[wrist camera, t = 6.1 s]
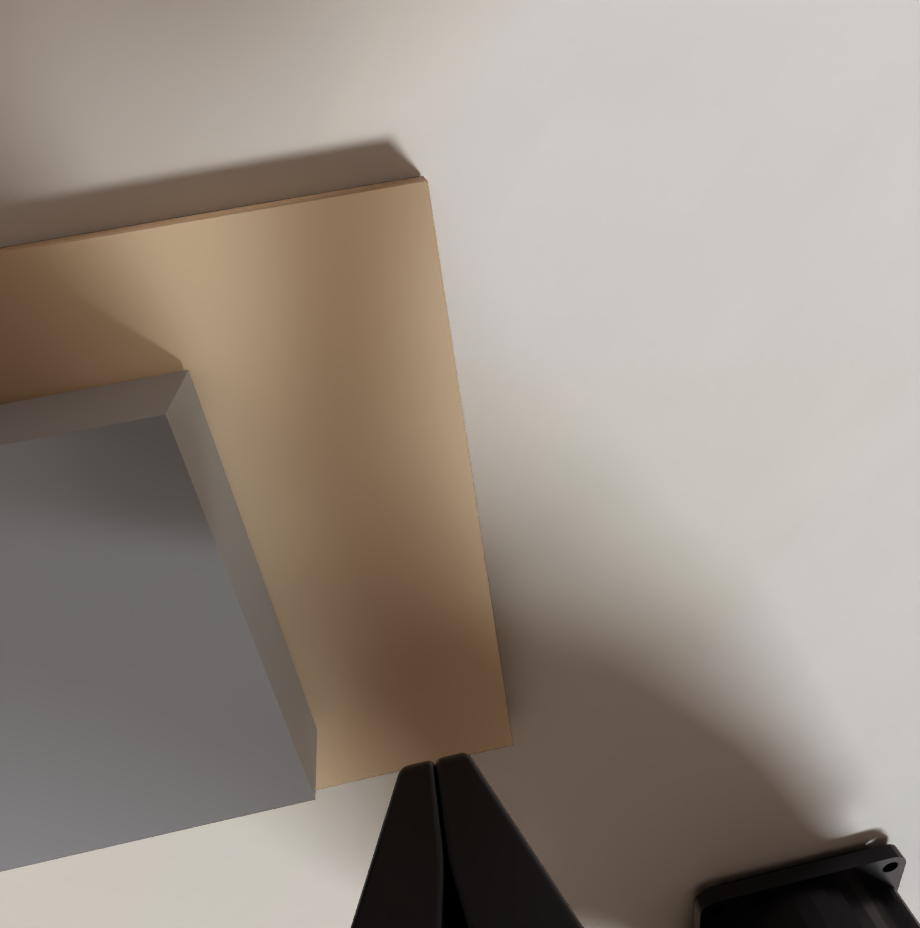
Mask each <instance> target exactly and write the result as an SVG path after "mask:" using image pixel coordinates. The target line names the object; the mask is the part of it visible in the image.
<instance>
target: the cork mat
mask: <svg viewBox="0 0 920 928" xmlns="http://www.w3.org/2000/svg"><path fill="white" fill-rule="evenodd" d="M185 370H189V372H190V375H191V378H192V381H193V384H194V386H195V389H196V392H197V395H198V398H199V400H200V403H201V406H202V409H203V412H204V414H205V417H206V420H207V423H208V425H209V428H210V431H211V434H212V437H213V439H214V442H215V445H216V448H217V451H218V453H219V456H220V459H221V462H222V465H223V467H224V470H225V473H226V476H227V479H228V481H229V484H230V487H231V490H232V493H233V495H234V498H235V501H236V504H237V507H238V509H239V512H240V515H241V518H242V521H243V523H244V526H245V529H246V532H247V535H248V537H249V540H250V543H251V546H252V549H253V551H254V554H255V557H256V560H257V563H258V565H259V568H260V571H261V574H262V577H263V579H264V582H265V585H266V588H267V591H268V593H269V596H270V599H271V602H272V604H273V607H274V610H275V613H276V616H277V618H278V621H279V624H280V627H281V630H282V632H283V635H284V638H285V641H286V644H287V646H288V649H289V652H290V655H291V658H292V660H293V663H294V666H295V669H296V672H297V674H298V677H299V680H300V683H301V686H302V688H303V691H304V694H305V697H306V700H307V702H308V705H309V708H310V711H311V714H312V716H313V719H314V722H315V725H316V728H317V758H316V790H318V789H322V788H327V787H331V786H336V785H340V784H344V783H349V782H353V781H357V780H362V779H366V778H371V777H375V776H379V775H384V774H388V773H392V772H397V771H401V769H402V768H403V767H405V766H407V765H412V764H416V763H420V762H424V761H432V762H434V763H436V762H437V760H438V759H439V758H441V757H446V756H450V755H454V754H458V753H467V754H468V755H471V754H476V753H480V752H484V751H489V750H493V749H497V748H502V747H506V746H511V745H513V742H512V735H511V729H510V722H509V715H508V709H507V702H506V696H505V689H504V682H503V676H502V669H501V663H500V656H499V649H498V643H497V636H496V630H495V623H494V616H493V610H492V603H491V597H490V590H489V583H488V577H487V570H486V564H485V557H484V550H483V544H482V537H481V531H480V524H479V517H478V511H477V504H476V498H475V491H474V484H473V478H472V471H471V465H470V458H469V451H468V445H467V438H466V432H465V425H464V418H463V412H462V405H461V399H460V392H459V385H458V379H457V372H456V366H455V359H454V352H453V346H452V339H451V333H450V326H449V319H448V313H447V306H446V300H445V293H444V286H443V280H442V273H441V267H440V260H439V253H438V247H437V240H436V234H435V227H434V220H433V214H432V207H431V201H430V194H429V187H428V181H427V180H426V179H425V178H424V177H423V176H420V177H414V178H409V179H403V180H397V181H391V182H385V183H379V184H373V185H368V186H362V187H356V188H350V189H344V190H338V191H332V192H327V193H321V194H315V195H309V196H303V197H297V198H291V199H286V200H280V201H274V202H268V203H262V204H256V205H250V206H245V207H239V208H233V209H227V210H221V211H215V212H209V213H204V214H198V215H192V216H186V217H180V218H174V219H168V220H163V221H157V222H151V223H145V224H139V225H133V226H127V227H122V228H116V229H110V230H104V231H98V232H92V233H86V234H81V235H75V236H69V237H63V238H57V239H51V240H45V241H40V242H34V243H28V244H22V245H16V246H10V247H4V248H0V405H1V404H7V403H12V402H18V401H23V400H28V399H34V398H39V397H44V396H50V395H55V394H61V393H66V392H71V391H77V390H82V389H88V388H93V387H98V386H104V385H109V384H115V383H120V382H125V381H131V380H136V379H141V378H147V377H152V376H158V375H163V374H168V373H174V372H179V371H185Z"/></svg>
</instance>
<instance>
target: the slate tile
mask: <svg viewBox="0 0 920 928" xmlns="http://www.w3.org/2000/svg"><path fill="white" fill-rule="evenodd" d="M316 758H317V728H316V725H315V722H314V719H313V716H312V714H311V711H310V708H309V705H308V702H307V700H306V697H305V694H304V691H303V688H302V686H301V683H300V680H299V677H298V674H297V672H296V669H295V666H294V663H293V660H292V658H291V655H290V652H289V649H288V646H287V644H286V641H285V638H284V635H283V632H282V630H281V627H280V624H279V621H278V618H277V616H276V613H275V610H274V607H273V604H272V602H271V599H270V596H269V593H268V591H267V588H266V585H265V582H264V579H263V577H262V574H261V571H260V568H259V565H258V563H257V560H256V557H255V554H254V551H253V549H252V546H251V543H250V540H249V537H248V535H247V532H246V529H245V526H244V523H243V521H242V518H241V515H240V512H239V509H238V507H237V504H236V501H235V498H234V495H233V493H232V490H231V487H230V484H229V481H228V479H227V476H226V473H225V470H224V467H223V465H222V462H221V459H220V456H219V453H218V451H217V448H216V445H215V442H214V439H213V437H212V434H211V431H210V428H209V425H208V423H207V420H206V417H205V414H204V412H203V409H202V406H201V403H200V400H199V398H198V395H197V392H196V389H195V386H194V384H193V381H192V378H191V375H190V372H189V370H185V371H179V372H174V373H168V374H163V375H158V376H152V377H147V378H141V379H136V380H131V381H125V382H120V383H115V384H109V385H104V386H98V387H93V388H88V389H82V390H77V391H71V392H66V393H61V394H55V395H50V396H44V397H39V398H34V399H28V400H23V401H18V402H12V403H7V404H1V405H0V872H1V871H6V870H10V869H14V868H19V867H23V866H27V865H32V864H36V863H40V862H45V861H49V860H53V859H58V858H62V857H66V856H71V855H75V854H80V853H84V852H88V851H93V850H97V849H101V848H106V847H110V846H114V845H119V844H123V843H127V842H132V841H136V840H141V839H145V838H149V837H154V836H158V835H162V834H167V833H171V832H175V831H180V830H184V829H188V828H193V827H197V826H201V825H206V824H210V823H215V822H219V821H223V820H228V819H232V818H236V817H241V816H245V815H249V814H254V813H258V812H262V811H267V810H271V809H276V808H280V807H284V806H289V805H293V804H297V803H302V802H306V801H310V800H315V792H316Z"/></svg>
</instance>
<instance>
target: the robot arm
mask: <svg viewBox="0 0 920 928" xmlns="http://www.w3.org/2000/svg"><path fill="white" fill-rule="evenodd" d="M905 864H906V860H905V858H904V857H903V856H902V854H901V853H900V851H899V850H898V849H897V847H896V846H895V845H891V844H888V845H882V846H878V847H874V848H870V849H866V850H862V851H858V852H854V853H850V854H846V855H841V856H837V857H833V858H829V859H825V860H821V861H817V862H813V863H809V864H805V865H801V866H797V867H793V868H789V869H785V870H781V871H777V872H773V873H769V874H765V875H761V876H757V877H753V878H749V879H745V880H741V881H737V882H733V883H728V884H724V885H720V886H716V887H712V888H709V889H706V890H704V891H702V892H701V893H699V894H698V895H697V896H696V898H695V901H694V917H693V928H920V924H919V922H918V921H917V920H916V918H915V917H914V915H913V914H912V912H911V911H910V909H909V908H908V907H907V905H906V904H905V902H904V901H903V899H902V898H901V896H900V895H899V894H898V892H897V890H898V887H899V884H900V880H901V877H902V874H903V871H904V868H905ZM351 928H584V927H583V926H582V924H581V923H580V921H579V920H578V918H577V917H576V915H575V914H574V912H573V911H572V909H571V908H570V906H569V905H568V903H567V902H566V900H565V899H564V897H563V896H562V894H561V893H560V891H559V890H558V888H557V887H556V885H555V883H554V882H553V880H552V879H551V877H550V876H549V874H548V873H547V871H546V870H545V868H544V867H543V865H542V864H541V862H540V861H539V859H538V858H537V856H536V855H535V853H534V852H533V850H532V849H531V847H530V846H529V844H528V843H527V841H526V839H525V838H524V836H523V835H522V833H521V832H520V830H519V829H518V827H517V826H516V824H515V823H514V821H513V820H512V818H511V817H510V815H509V814H508V812H507V811H506V809H505V808H504V806H503V805H502V803H501V802H500V800H499V799H498V797H497V796H496V794H495V792H494V791H493V789H492V788H491V786H490V785H489V783H488V782H487V780H486V779H485V777H484V776H483V774H482V773H481V771H480V770H479V768H478V767H477V765H476V764H475V762H474V761H473V759H472V758H471V756H470V755H468V754H467V753H458V754H454V755H450V756H446V757H441V758H439V759H438V760H437V762H436V765H435V763H434V762H432V761H424V762H420V763H416V764H412V765H407V766H405V767H403V768H402V769H401V771H400V773H399V775H398V778H397V781H396V784H395V787H394V791H393V794H392V797H391V800H390V803H389V807H388V810H387V813H386V816H385V819H384V823H383V826H382V829H381V832H380V835H379V839H378V842H377V845H376V848H375V851H374V855H373V858H372V861H371V864H370V868H369V871H368V874H367V877H366V880H365V884H364V887H363V890H362V893H361V896H360V900H359V903H358V906H357V909H356V912H355V916H354V919H353V922H352V925H351Z"/></svg>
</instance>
